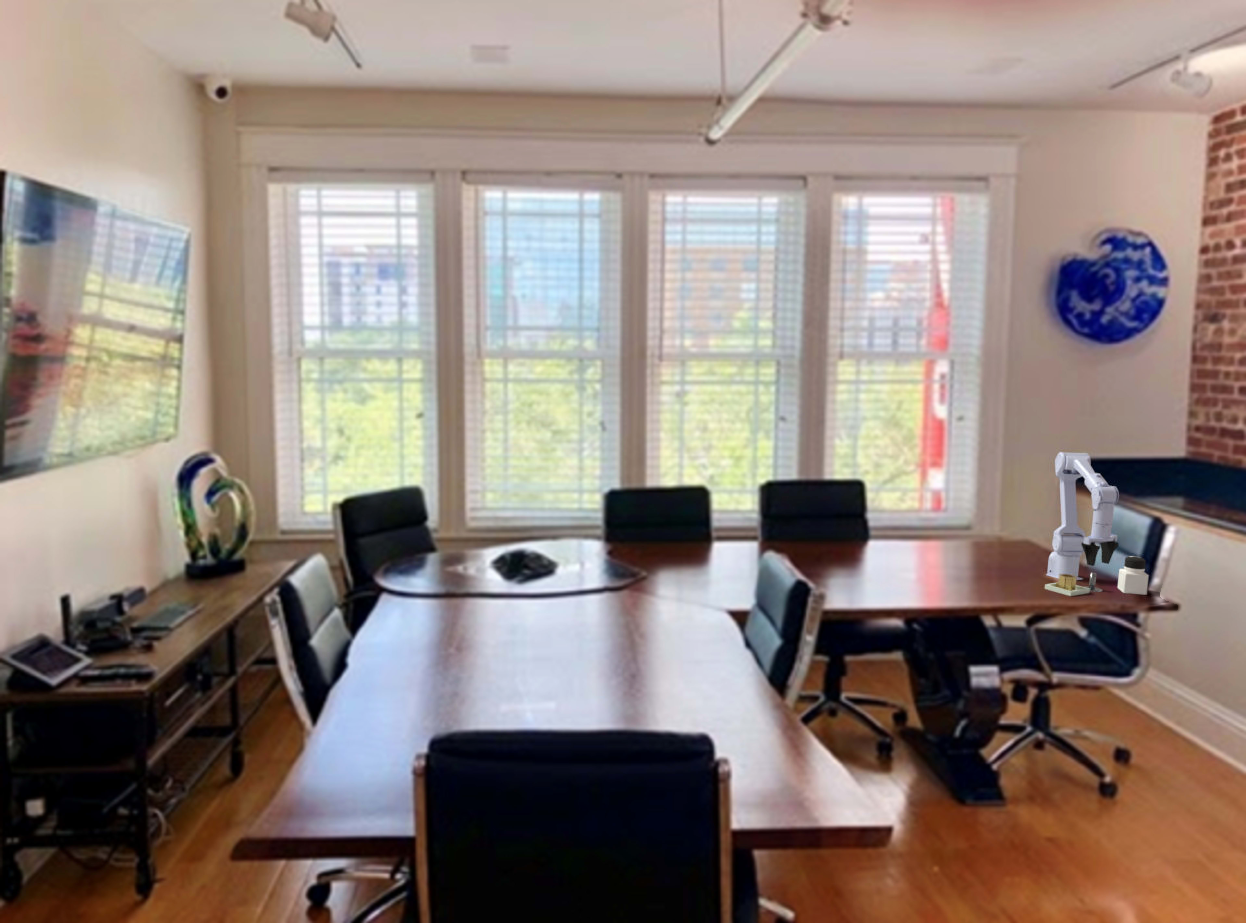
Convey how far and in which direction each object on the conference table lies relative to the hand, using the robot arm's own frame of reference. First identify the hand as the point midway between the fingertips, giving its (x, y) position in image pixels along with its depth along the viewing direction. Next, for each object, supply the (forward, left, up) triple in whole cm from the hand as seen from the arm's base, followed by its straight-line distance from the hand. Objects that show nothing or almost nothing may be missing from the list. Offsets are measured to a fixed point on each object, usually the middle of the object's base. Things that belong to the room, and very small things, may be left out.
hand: (1098, 564), depth 314 cm
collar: (-6, -6, -10) cm, 13 cm away
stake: (-4, +4, -10) cm, 12 cm away
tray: (-6, -6, -10) cm, 13 cm away
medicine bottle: (+3, +15, -11) cm, 19 cm away
